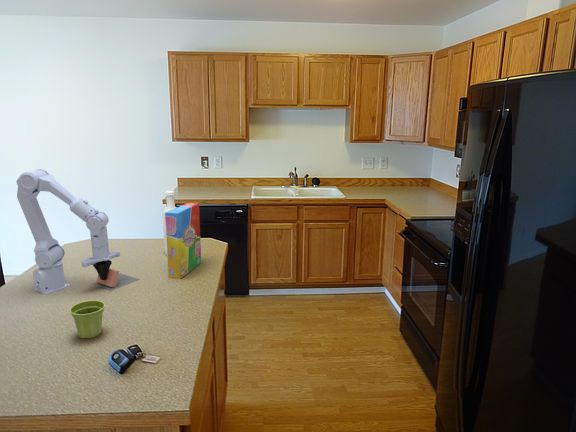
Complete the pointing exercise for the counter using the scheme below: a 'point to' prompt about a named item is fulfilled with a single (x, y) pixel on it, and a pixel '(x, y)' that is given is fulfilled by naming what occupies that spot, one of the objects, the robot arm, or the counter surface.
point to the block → (110, 278)
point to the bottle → (169, 207)
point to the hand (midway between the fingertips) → (103, 279)
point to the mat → (118, 282)
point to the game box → (183, 239)
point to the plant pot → (88, 317)
